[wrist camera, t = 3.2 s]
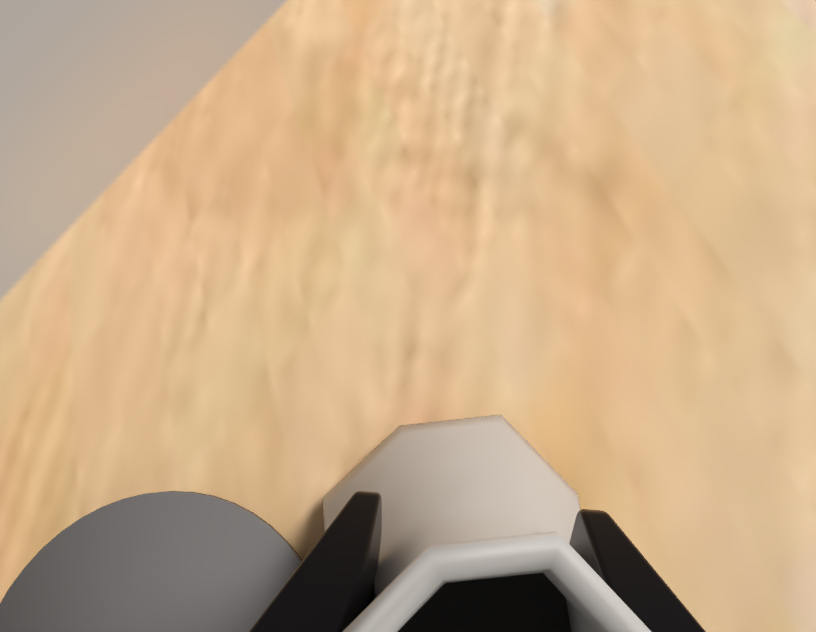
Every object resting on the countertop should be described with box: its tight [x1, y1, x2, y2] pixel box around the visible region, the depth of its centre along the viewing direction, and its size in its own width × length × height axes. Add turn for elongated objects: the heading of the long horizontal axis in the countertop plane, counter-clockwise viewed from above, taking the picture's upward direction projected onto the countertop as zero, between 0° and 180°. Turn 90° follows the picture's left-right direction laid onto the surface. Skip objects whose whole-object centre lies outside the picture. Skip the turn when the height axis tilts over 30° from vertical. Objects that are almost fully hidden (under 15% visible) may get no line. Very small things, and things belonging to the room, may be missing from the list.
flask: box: [323, 415, 651, 632], centre depth 9 cm, size 7×7×10 cm
